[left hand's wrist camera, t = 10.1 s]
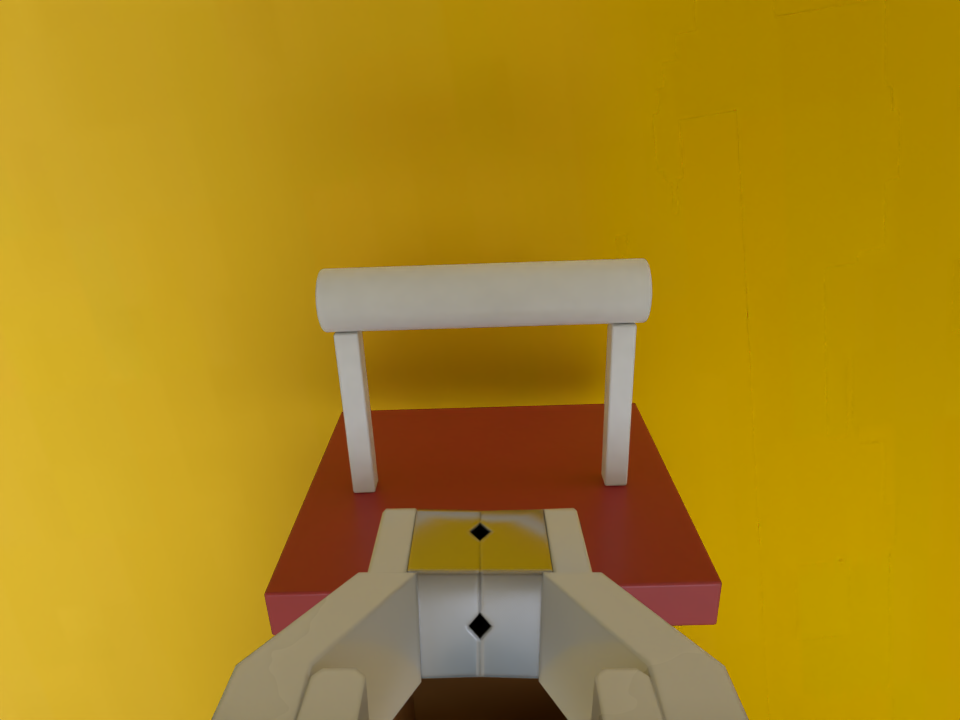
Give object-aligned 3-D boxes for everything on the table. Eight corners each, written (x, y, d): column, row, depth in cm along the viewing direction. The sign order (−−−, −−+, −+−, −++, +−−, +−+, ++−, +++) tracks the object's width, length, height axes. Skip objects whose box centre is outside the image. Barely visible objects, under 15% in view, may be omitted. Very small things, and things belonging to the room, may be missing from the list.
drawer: (318, 230, 20) (209, 329, 12) (647, 220, 20) (760, 312, 12) (389, 786, 29) (355, 1049, 21) (611, 782, 29) (660, 1044, 21)
